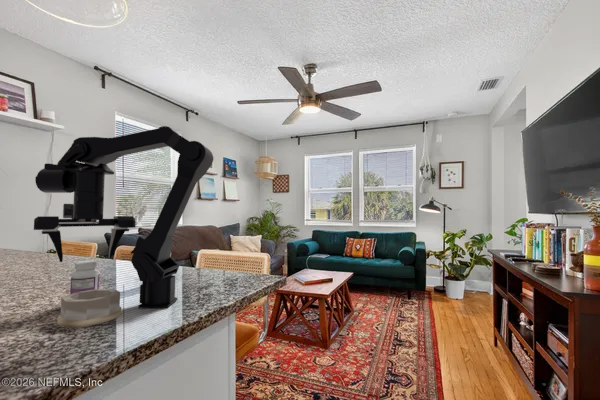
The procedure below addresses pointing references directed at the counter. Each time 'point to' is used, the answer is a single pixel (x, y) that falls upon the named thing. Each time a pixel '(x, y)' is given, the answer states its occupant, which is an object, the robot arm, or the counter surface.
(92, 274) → the pill bottle
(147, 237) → the robot arm
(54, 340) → the counter surface
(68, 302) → the socket base
